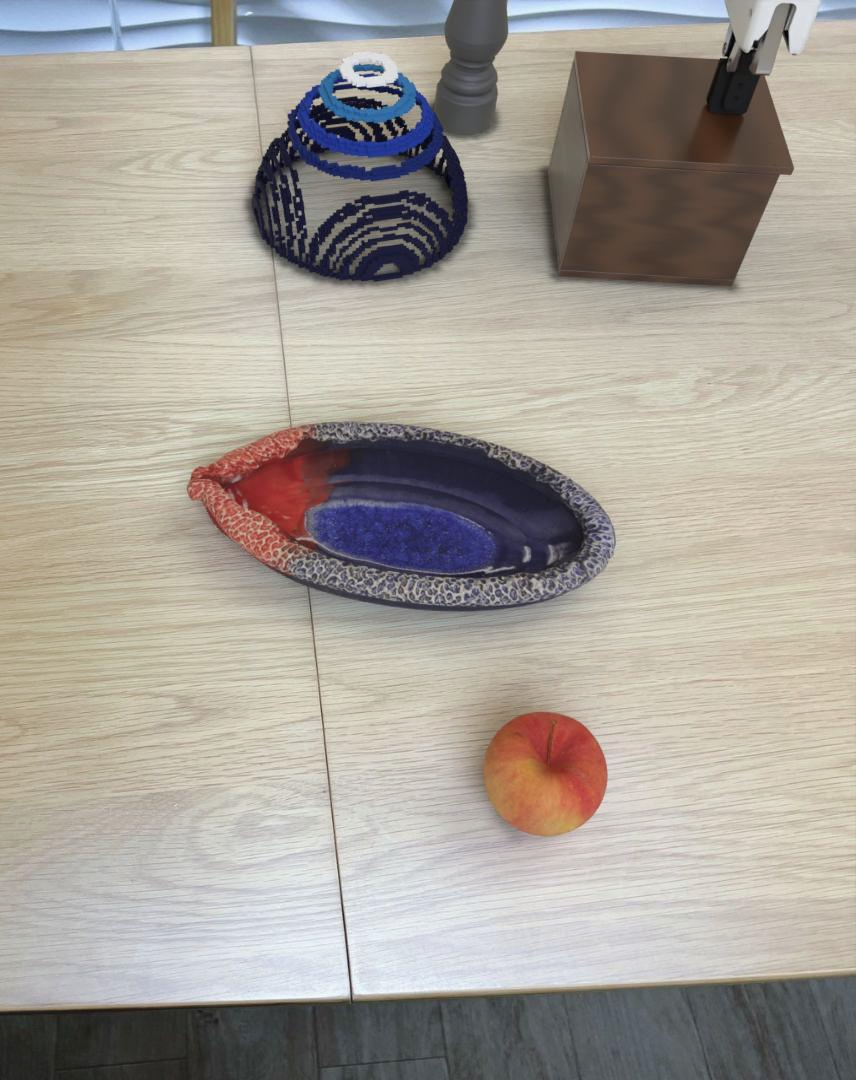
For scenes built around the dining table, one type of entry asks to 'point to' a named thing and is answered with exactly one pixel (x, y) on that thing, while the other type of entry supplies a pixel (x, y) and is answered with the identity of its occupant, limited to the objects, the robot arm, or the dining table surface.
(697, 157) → the lid
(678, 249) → the chest
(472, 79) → the candle holder
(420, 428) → the dish
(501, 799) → the apple
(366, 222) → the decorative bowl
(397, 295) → the dining table surface
